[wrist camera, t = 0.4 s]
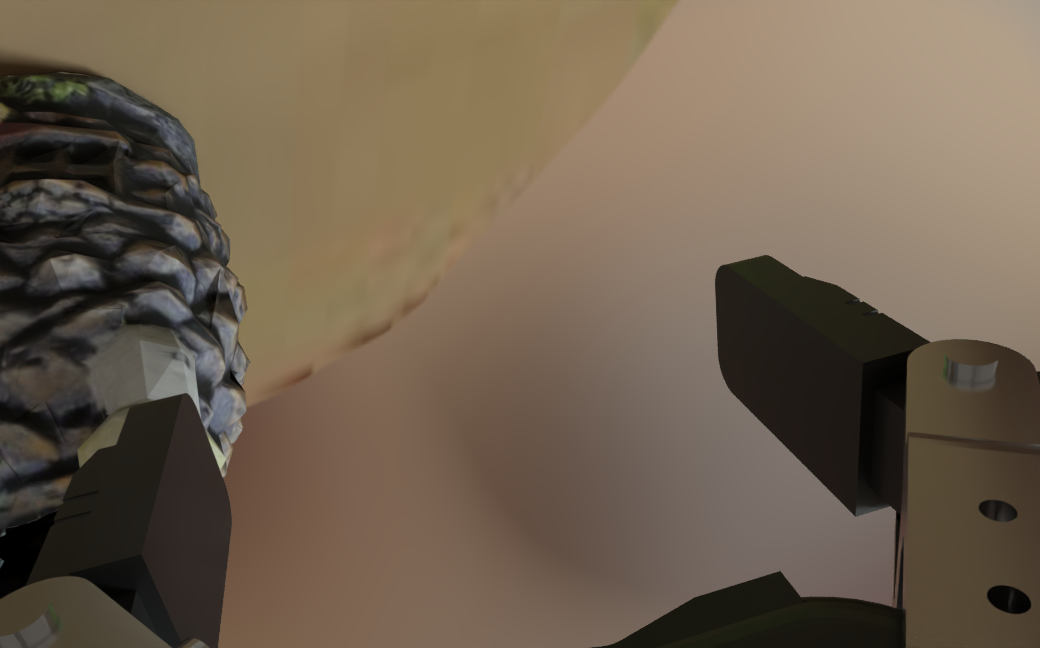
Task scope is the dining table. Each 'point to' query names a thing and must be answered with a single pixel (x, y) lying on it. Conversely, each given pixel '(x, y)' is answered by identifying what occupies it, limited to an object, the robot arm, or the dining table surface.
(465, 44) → the dining table surface
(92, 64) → the dining table surface
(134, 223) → the decorative house
